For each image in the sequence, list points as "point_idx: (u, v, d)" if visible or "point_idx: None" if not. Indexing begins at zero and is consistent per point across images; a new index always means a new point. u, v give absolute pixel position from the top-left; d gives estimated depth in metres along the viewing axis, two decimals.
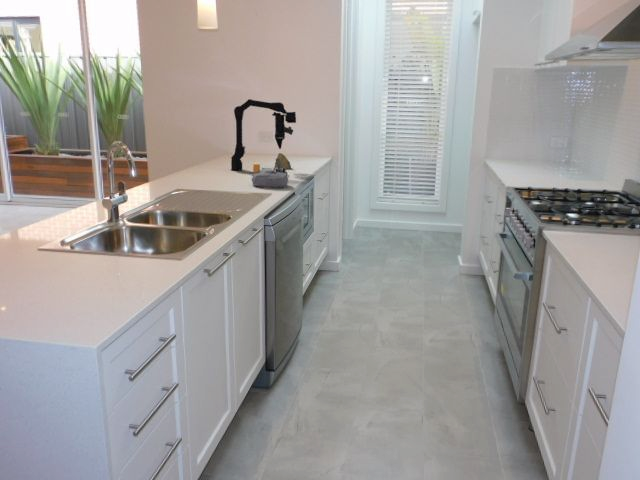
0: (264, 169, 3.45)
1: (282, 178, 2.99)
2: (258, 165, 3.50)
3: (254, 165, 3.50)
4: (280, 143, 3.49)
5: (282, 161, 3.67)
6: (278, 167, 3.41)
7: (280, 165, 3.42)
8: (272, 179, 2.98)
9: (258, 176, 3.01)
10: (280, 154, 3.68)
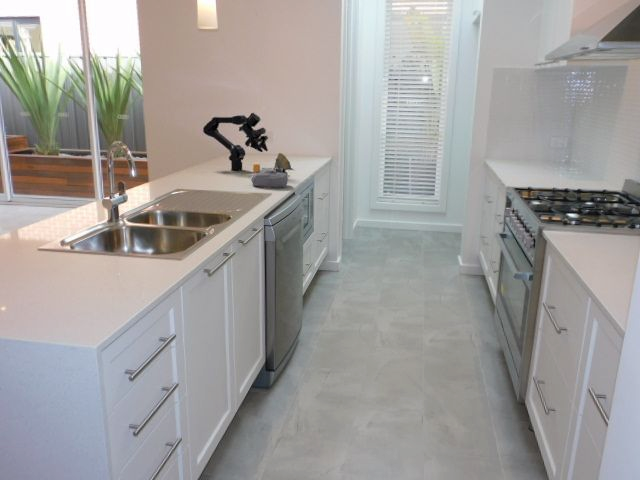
0: (264, 169, 3.45)
1: (282, 178, 3.00)
2: (258, 165, 3.50)
3: (254, 165, 3.50)
4: (258, 147, 3.41)
5: (282, 161, 3.67)
6: (278, 167, 3.41)
7: (280, 165, 3.42)
8: (272, 179, 2.98)
9: (258, 176, 3.01)
10: (280, 154, 3.68)
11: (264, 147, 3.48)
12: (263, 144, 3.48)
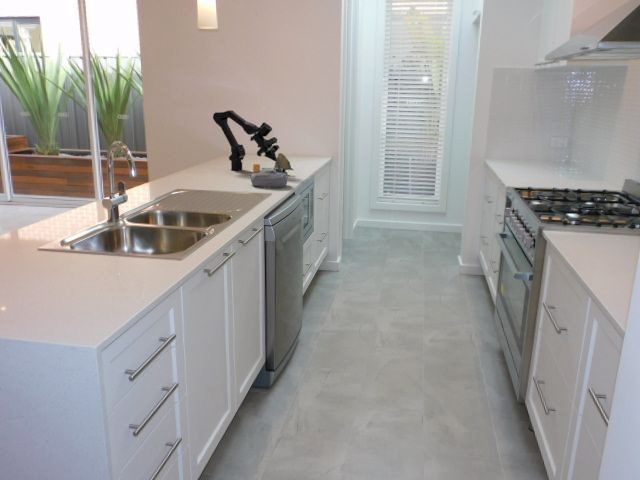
0: (264, 169, 3.45)
1: (281, 178, 3.00)
2: (258, 165, 3.50)
3: (254, 165, 3.50)
4: (272, 156, 3.42)
5: (282, 161, 3.67)
6: (278, 167, 3.41)
7: (280, 165, 3.42)
8: (272, 179, 2.98)
9: (257, 176, 3.01)
10: (280, 154, 3.68)
11: None
12: None
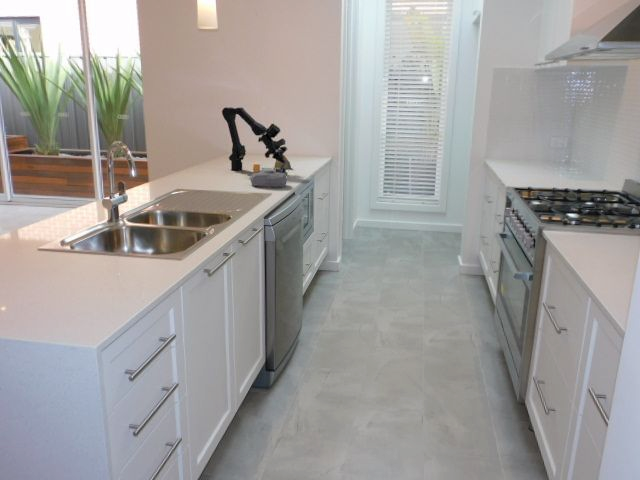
0: (264, 169, 3.45)
1: (281, 178, 3.00)
2: (258, 165, 3.50)
3: (254, 165, 3.49)
4: (280, 158, 3.39)
5: None
6: (280, 167, 3.41)
7: (283, 167, 3.41)
8: (271, 179, 2.99)
9: (257, 176, 3.01)
10: None
11: None
12: None
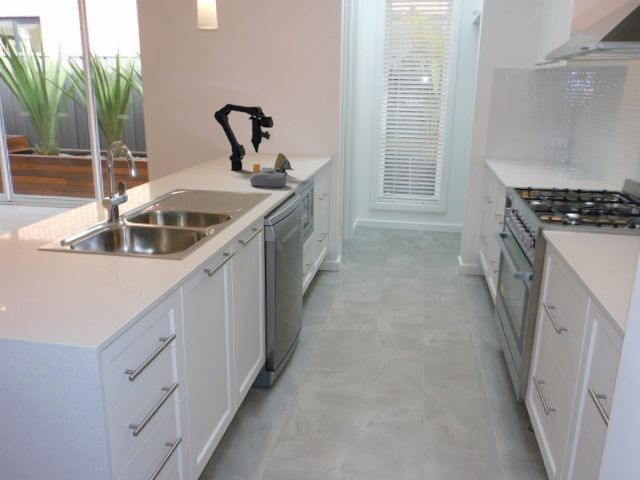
0: (264, 169, 3.45)
1: (280, 178, 3.00)
2: (258, 165, 3.50)
3: (254, 165, 3.50)
4: (257, 147, 3.47)
5: (282, 161, 3.67)
6: (280, 167, 3.41)
7: (283, 167, 3.41)
8: (271, 179, 2.99)
9: (256, 176, 3.01)
10: (280, 154, 3.68)
11: None
12: None
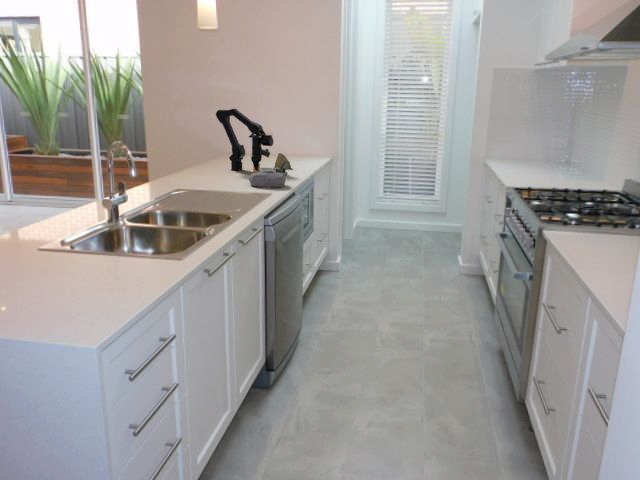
0: (264, 169, 3.45)
1: (280, 178, 3.00)
2: (258, 165, 3.50)
3: None
4: (257, 165, 3.48)
5: (282, 161, 3.67)
6: (280, 167, 3.41)
7: (283, 167, 3.41)
8: (270, 179, 2.99)
9: (256, 176, 3.01)
10: (280, 154, 3.68)
11: None
12: None
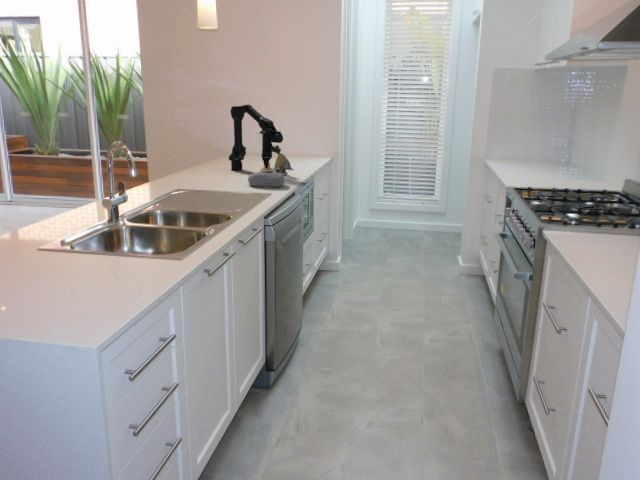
0: None
1: (279, 178, 3.00)
2: (268, 164, 3.40)
3: None
4: (267, 162, 3.36)
5: (282, 161, 3.67)
6: (280, 167, 3.41)
7: (283, 167, 3.41)
8: (269, 179, 2.99)
9: (255, 176, 3.01)
10: (280, 154, 3.68)
11: None
12: None
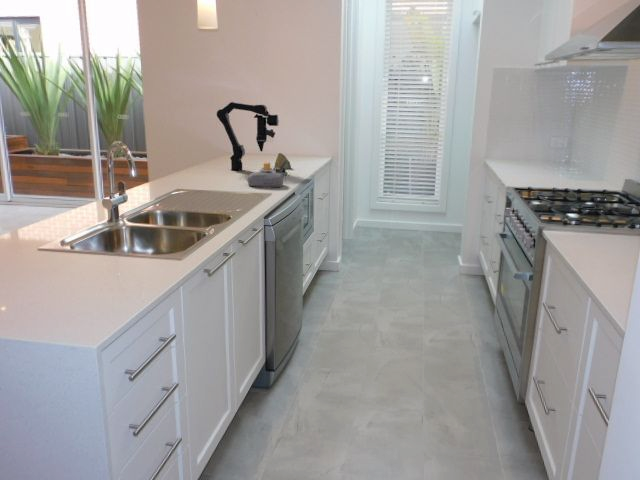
0: None
1: (278, 178, 3.00)
2: (268, 164, 3.40)
3: (264, 164, 3.39)
4: (261, 146, 3.46)
5: (282, 161, 3.67)
6: (280, 167, 3.41)
7: (283, 167, 3.41)
8: (269, 179, 2.99)
9: (254, 176, 3.01)
10: (280, 154, 3.68)
11: None
12: None
